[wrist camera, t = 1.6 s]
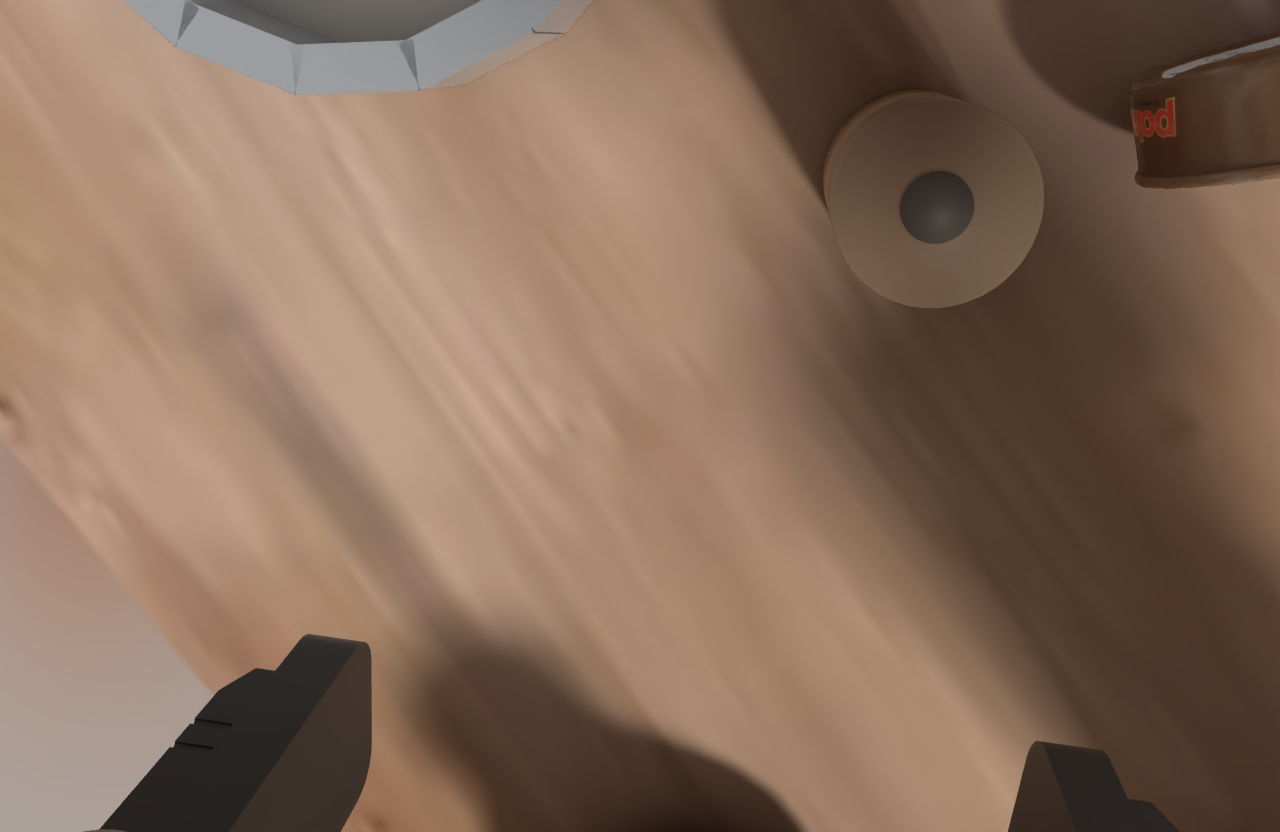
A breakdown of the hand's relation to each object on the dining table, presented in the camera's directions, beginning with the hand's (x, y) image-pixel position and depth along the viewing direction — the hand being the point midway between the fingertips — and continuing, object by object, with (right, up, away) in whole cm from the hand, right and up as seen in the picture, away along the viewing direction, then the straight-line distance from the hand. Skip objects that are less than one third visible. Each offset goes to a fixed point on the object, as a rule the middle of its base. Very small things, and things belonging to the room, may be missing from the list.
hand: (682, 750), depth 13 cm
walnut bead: (+7, +11, +17) cm, 21 cm away
